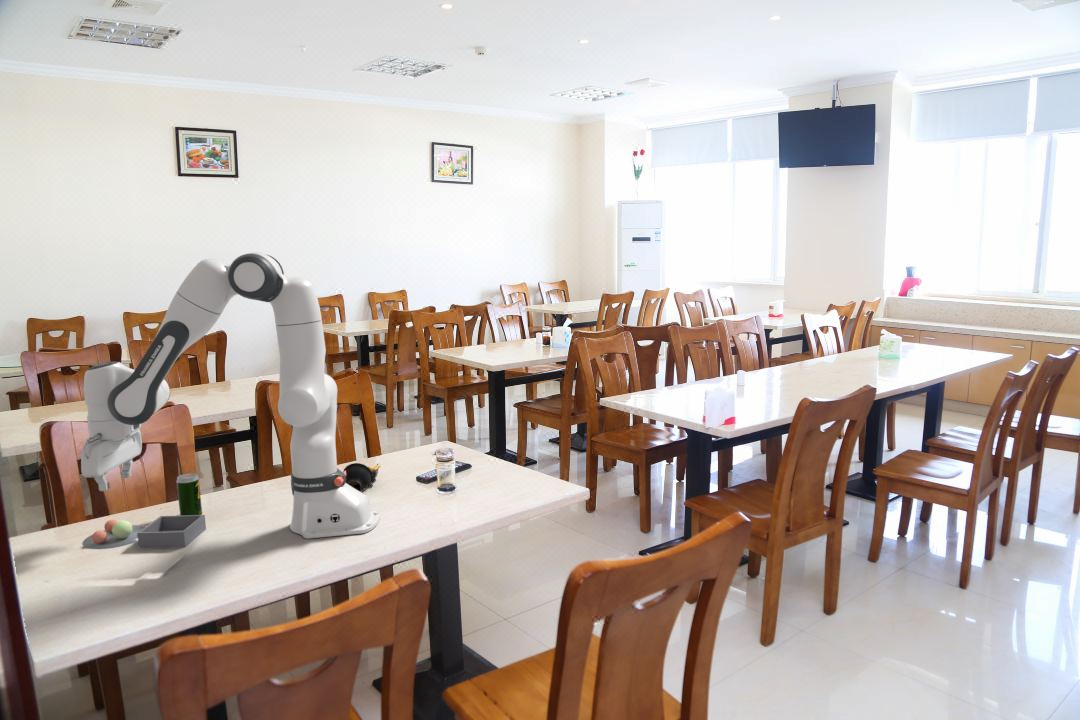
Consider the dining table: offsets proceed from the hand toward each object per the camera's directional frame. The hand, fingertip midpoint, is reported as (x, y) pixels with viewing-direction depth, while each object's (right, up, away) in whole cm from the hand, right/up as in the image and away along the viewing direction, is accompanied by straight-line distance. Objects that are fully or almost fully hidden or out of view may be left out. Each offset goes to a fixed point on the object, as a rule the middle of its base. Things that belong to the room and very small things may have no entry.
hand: (115, 483), depth 185 cm
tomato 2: (-4, -13, +6) cm, 15 cm away
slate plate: (-1, -15, +4) cm, 15 cm away
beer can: (+11, -13, +17) cm, 24 cm away
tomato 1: (-3, -14, -1) cm, 15 cm away
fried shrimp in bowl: (+52, -8, +41) cm, 67 cm away
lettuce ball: (+1, -14, +2) cm, 14 cm away
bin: (+14, -15, +1) cm, 20 cm away
